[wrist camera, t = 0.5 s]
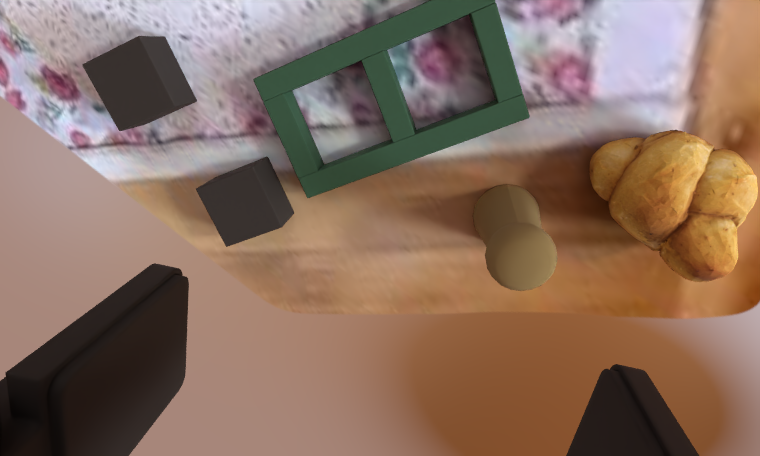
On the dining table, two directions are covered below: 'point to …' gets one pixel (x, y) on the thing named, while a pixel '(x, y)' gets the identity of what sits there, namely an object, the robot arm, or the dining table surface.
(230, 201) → the pad
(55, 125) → the dining table surface
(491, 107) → the green rectangular frame
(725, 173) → the bread roll
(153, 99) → the pad
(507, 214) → the pepper mill
